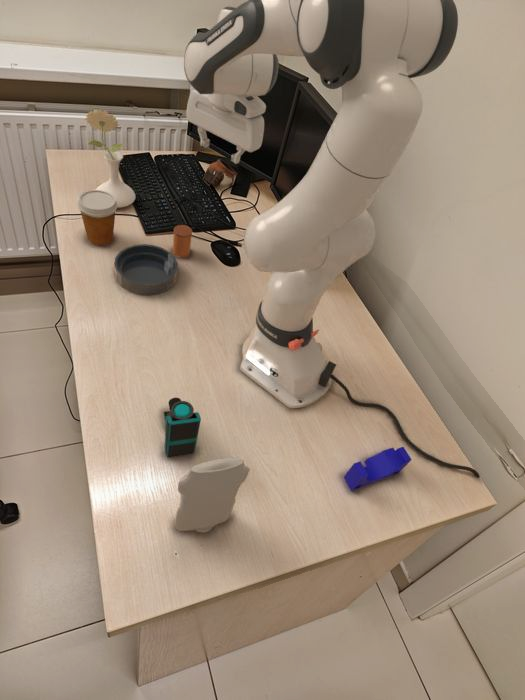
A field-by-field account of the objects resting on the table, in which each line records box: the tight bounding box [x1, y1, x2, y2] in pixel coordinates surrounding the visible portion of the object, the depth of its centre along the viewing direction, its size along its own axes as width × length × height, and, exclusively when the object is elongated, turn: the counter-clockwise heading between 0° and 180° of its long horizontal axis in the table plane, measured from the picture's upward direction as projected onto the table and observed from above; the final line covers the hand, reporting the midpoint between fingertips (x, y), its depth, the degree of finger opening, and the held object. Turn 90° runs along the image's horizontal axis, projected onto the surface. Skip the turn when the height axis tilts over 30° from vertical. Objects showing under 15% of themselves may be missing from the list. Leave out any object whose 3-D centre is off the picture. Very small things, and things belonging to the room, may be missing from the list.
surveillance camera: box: [163, 397, 202, 458], centre depth 86 cm, size 6×12×10 cm
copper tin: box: [172, 224, 193, 258], centre depth 123 cm, size 5×5×8 cm
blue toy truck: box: [343, 446, 413, 492], centre depth 91 cm, size 12×4×6 cm, turn 114°
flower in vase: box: [84, 109, 137, 209], centre depth 126 cm, size 13×11×25 cm
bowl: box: [113, 243, 179, 296], centre depth 116 cm, size 15×15×4 cm
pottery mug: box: [203, 158, 236, 188], centre depth 150 cm, size 12×10×8 cm
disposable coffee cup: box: [76, 189, 118, 246], centre depth 119 cm, size 10×10×12 cm
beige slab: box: [174, 457, 250, 534], centre depth 72 cm, size 11×4×22 cm, turn 107°
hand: (219, 154), depth 113 cm, fingers open, 8 cm apart
